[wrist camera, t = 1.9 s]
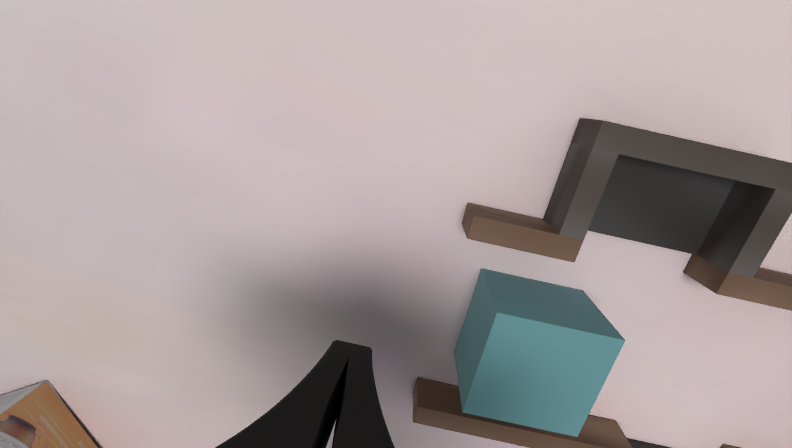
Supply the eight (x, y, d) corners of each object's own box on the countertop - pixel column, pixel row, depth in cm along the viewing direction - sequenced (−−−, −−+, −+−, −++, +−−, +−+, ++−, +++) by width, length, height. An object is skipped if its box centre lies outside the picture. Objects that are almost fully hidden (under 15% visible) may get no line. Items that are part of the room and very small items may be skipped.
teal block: (546, 371, 19) (577, 437, 16) (454, 351, 19) (462, 412, 16) (581, 289, 18) (624, 340, 14) (480, 267, 18) (496, 312, 14)
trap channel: (787, 542, 22) (852, 621, 19) (394, 457, 22) (389, 521, 18) (1058, 225, 15) (1235, 260, 12) (497, 99, 15) (519, 99, 12)
